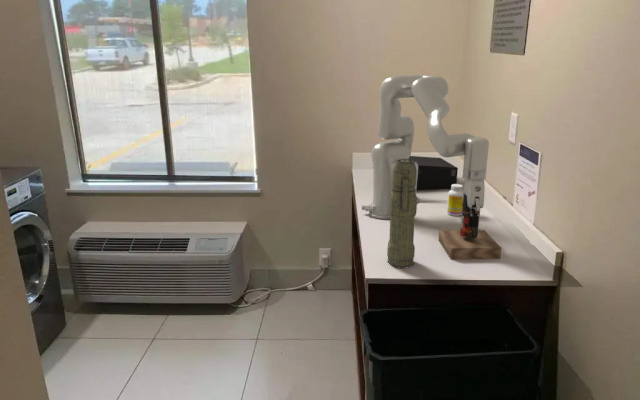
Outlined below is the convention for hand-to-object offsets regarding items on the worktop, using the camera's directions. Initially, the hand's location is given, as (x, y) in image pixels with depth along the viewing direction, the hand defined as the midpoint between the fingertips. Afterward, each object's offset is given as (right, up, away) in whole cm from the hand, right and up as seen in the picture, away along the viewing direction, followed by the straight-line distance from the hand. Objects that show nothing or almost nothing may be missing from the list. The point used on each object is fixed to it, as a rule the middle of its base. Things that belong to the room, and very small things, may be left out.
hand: (469, 223), depth 172 cm
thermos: (-26, -13, -8) cm, 30 cm away
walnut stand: (0, -9, +3) cm, 10 cm away
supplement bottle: (+6, +2, +40) cm, 41 cm away
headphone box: (-2, +16, +88) cm, 89 cm away
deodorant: (0, -5, +1) cm, 5 cm away
